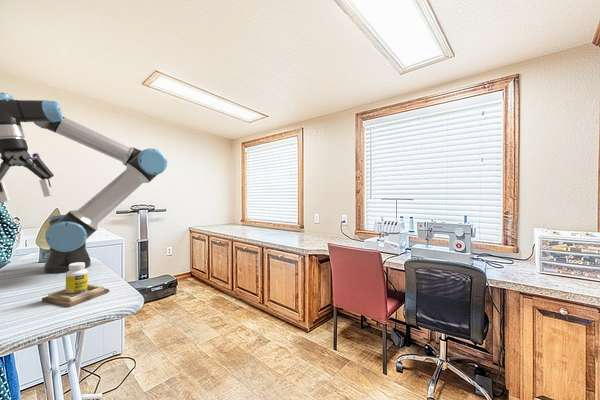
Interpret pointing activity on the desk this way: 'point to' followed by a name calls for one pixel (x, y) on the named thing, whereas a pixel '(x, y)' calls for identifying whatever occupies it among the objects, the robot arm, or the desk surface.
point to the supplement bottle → (76, 279)
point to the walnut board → (70, 301)
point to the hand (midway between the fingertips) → (28, 198)
